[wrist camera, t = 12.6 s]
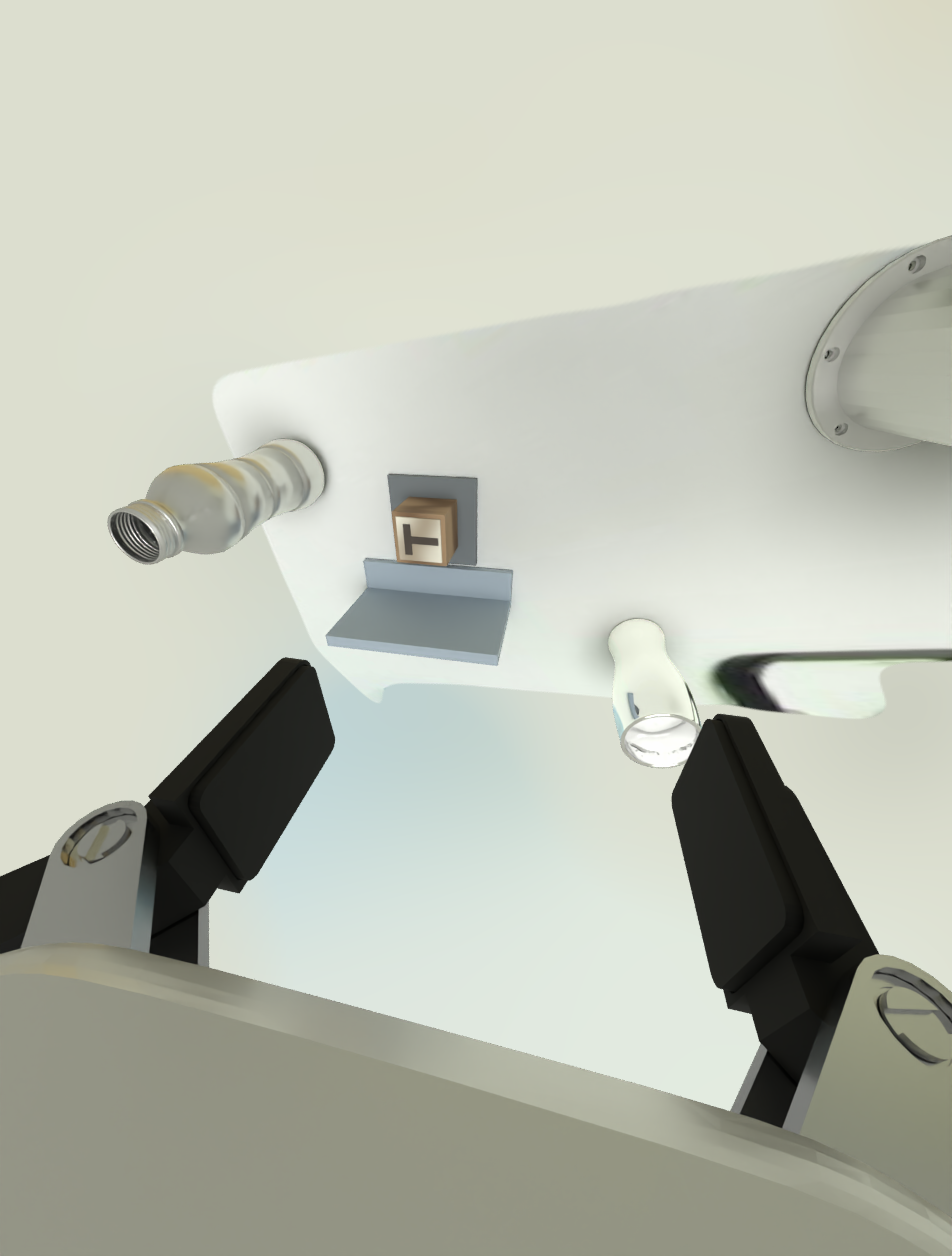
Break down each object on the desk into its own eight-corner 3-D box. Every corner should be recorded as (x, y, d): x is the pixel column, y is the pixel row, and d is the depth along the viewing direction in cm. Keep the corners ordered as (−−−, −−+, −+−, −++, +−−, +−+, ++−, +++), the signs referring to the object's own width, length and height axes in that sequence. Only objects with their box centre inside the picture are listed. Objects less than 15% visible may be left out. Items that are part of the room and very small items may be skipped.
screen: (512, 570, 44) (499, 624, 35) (510, 606, 46) (497, 665, 37) (366, 558, 46) (318, 605, 37) (371, 593, 49) (328, 645, 40)
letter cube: (456, 499, 40) (443, 516, 36) (457, 546, 43) (445, 567, 38) (408, 496, 41) (390, 512, 36) (412, 543, 43) (396, 563, 39)
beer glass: (613, 670, 48) (630, 775, 36) (595, 625, 46) (607, 721, 33) (675, 656, 46) (715, 763, 34) (660, 606, 43) (699, 704, 31)
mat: (477, 478, 39) (476, 479, 39) (476, 563, 44) (475, 565, 44) (389, 473, 40) (387, 475, 40) (398, 556, 45) (396, 559, 45)
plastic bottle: (270, 484, 43) (92, 558, 27) (278, 422, 40) (76, 463, 23) (325, 512, 44) (183, 601, 28) (338, 453, 40) (183, 515, 24)
